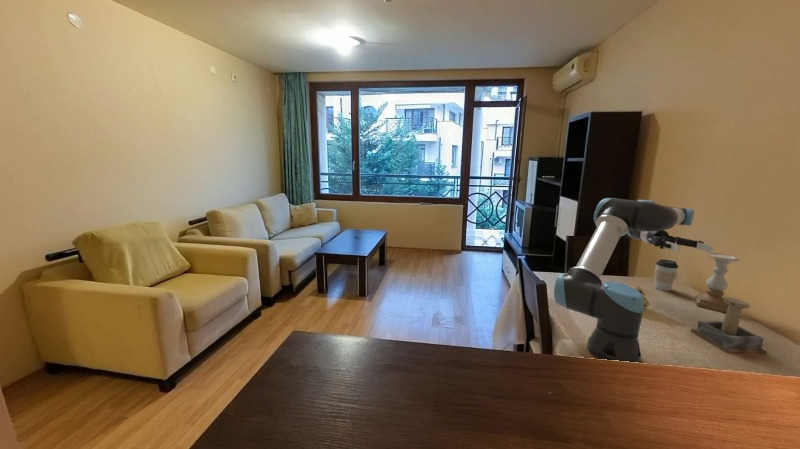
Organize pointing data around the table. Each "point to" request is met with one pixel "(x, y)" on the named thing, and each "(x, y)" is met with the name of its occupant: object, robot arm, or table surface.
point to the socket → (729, 338)
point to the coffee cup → (665, 274)
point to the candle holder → (716, 284)
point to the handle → (733, 315)
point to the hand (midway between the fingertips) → (695, 249)
